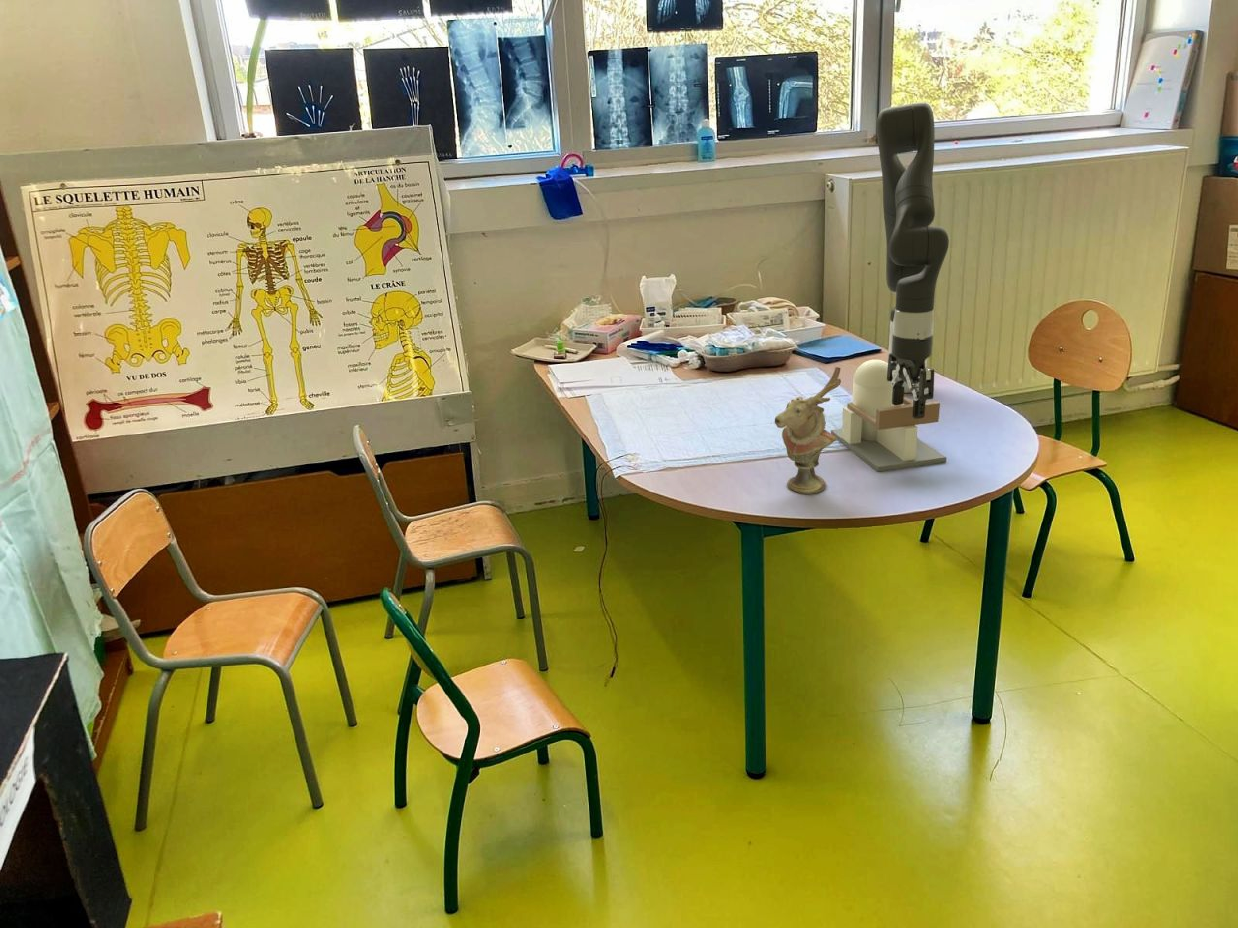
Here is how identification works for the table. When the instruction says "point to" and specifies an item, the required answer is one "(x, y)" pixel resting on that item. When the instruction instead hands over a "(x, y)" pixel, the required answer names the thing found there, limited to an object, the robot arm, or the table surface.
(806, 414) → the decorative bust
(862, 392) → the bracket-mounted cylinder
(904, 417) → the brown u-shaped frame
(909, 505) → the table surface
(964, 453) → the table surface
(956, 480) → the table surface
